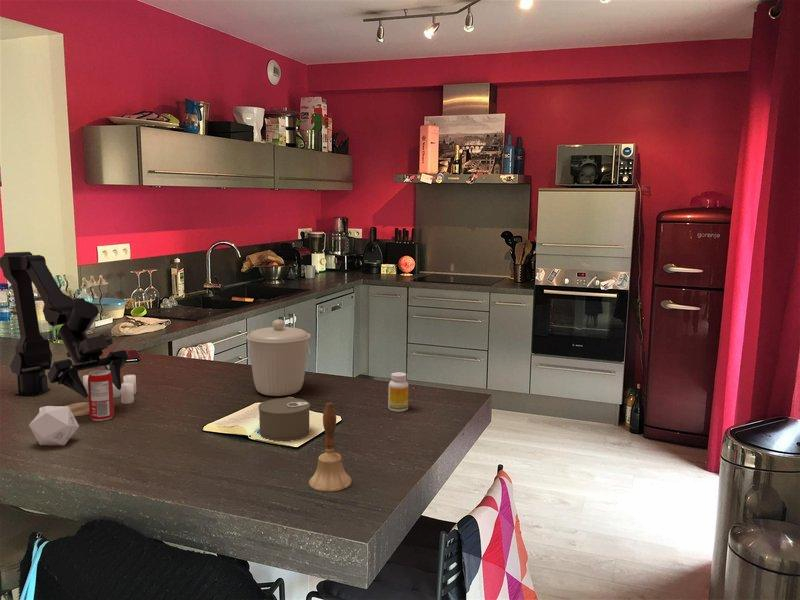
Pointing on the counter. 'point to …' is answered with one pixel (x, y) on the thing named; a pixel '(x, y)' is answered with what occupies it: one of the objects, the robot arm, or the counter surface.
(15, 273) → the robot arm
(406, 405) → the supplement bottle
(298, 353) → the canister
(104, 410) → the soda can
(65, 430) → the die
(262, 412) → the can
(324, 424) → the hand bell
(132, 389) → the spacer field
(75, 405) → the coaster
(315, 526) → the counter surface
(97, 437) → the counter surface
